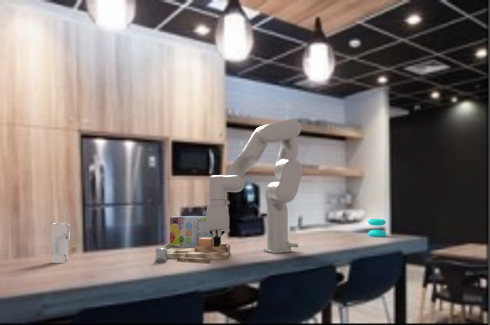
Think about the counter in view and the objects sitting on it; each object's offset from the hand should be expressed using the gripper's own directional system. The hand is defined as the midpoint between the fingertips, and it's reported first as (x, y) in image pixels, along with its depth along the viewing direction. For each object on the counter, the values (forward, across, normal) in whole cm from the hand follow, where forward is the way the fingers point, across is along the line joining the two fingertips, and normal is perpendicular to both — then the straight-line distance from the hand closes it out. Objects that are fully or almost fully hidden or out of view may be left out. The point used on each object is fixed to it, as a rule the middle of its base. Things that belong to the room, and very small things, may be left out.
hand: (217, 246), depth 181 cm
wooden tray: (+4, +9, +3) cm, 10 cm away
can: (+4, +20, +17) cm, 26 cm away
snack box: (+4, +15, -20) cm, 25 cm away
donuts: (+4, -85, -73) cm, 112 cm away
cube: (+2, +5, 0) cm, 5 cm away
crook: (+4, +7, +15) cm, 17 cm away
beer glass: (+4, +59, +22) cm, 63 cm away
